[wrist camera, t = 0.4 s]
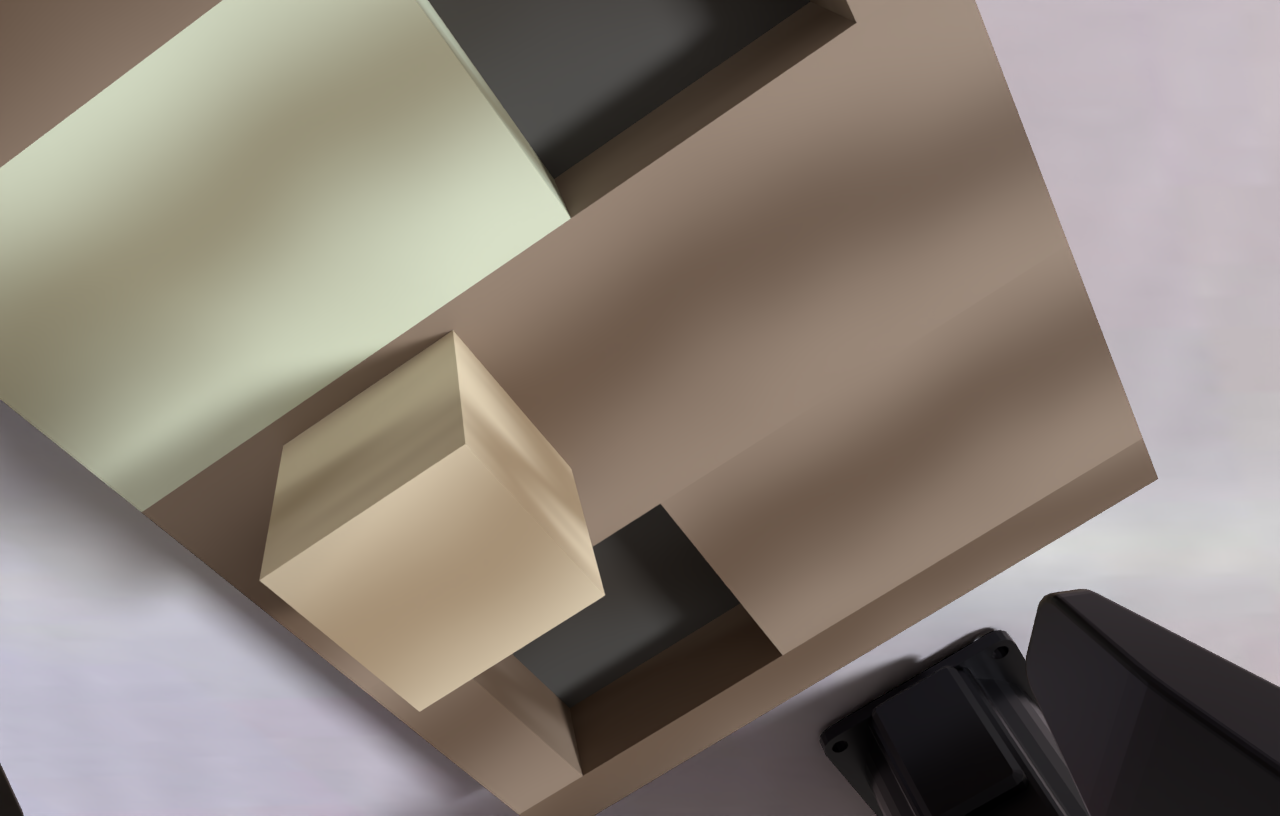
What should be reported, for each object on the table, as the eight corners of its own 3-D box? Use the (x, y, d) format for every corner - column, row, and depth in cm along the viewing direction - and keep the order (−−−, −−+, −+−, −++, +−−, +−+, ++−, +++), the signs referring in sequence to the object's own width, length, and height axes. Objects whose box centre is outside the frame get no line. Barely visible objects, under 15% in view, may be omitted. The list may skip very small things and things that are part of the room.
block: (571, 468, 21) (605, 595, 17) (416, 569, 21) (419, 711, 18) (452, 330, 19) (465, 443, 15) (282, 445, 19) (259, 580, 16)
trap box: (1098, 425, 27) (1214, 527, 23) (539, 765, 29) (561, 910, 25) (657, -636, 15) (750, -794, 11) (-248, 86, 17) (-438, 166, 13)
